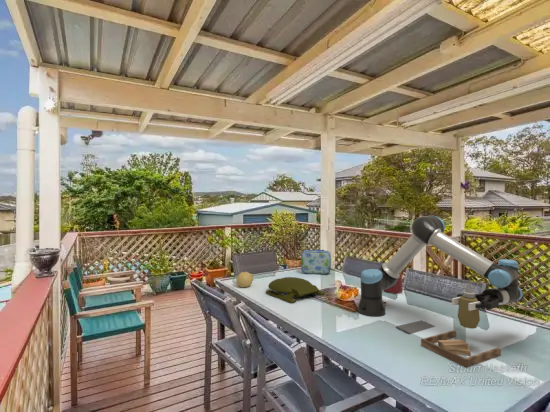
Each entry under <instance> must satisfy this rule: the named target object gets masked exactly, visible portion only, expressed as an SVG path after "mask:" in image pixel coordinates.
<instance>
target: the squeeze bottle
mask: <svg viewBox="0 0 550 412" xmlns="http://www.w3.org/2000/svg"><path fill="white" fill-rule="evenodd" d="M462 294H463V296H461V297H460V301H459V304H458V310H457V319H458V322H459V324H460V326H461V327H463V328H466V329H471V330H472V329H473V330H474V329H477V328H478V326H479V324H480V323H479V322H480V320H481V317H480V309H475V310H471V311H469V310H468V304H469V303H473V302H478V299H476V298H475V294H476V292H474V291H473V290H472V285H471V283H467V284H466V288H465V290H463V291H462Z"/></svg>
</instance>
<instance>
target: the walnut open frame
mask: <svg viewBox="0 0 550 412" xmlns="http://www.w3.org/2000/svg"><path fill="white" fill-rule="evenodd" d="M456 338H457V330H455V329H454V330H449V331H446V332H443V333H439V334H435V335H431V336H428V337H423V338H420V346H421V347H422V348H425V349H427V350H429V351H430V352H434V353H435V354H437V355H440V356H441V357H443V358H446V359H447V360H449V361H452V362H453V363H456V364H458V365H460V366H462V367H463V368H470V367H473V366H476V365H478V364H481V363H483V362H486V361H489V360H491V359H494V358H498V357H500V356H502V348H501V347H495V348H492V349H489V350H486V351H483V352H481V353H477V354H474V355H471V356H467V357H466V358H465V357H464V356H462V355H460V354H455V353H453V352H451V351H448V350H446V349H444V348H442V347H440V346H438V340H453V339H456Z"/></svg>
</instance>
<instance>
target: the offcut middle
mask: <svg viewBox="0 0 550 412" xmlns="http://www.w3.org/2000/svg"><path fill="white" fill-rule="evenodd" d="M448 351H451V352H453V353H455V354H457V355H459V356H466V357H471V356H472V354H471V349H470V347H469V346H468V349H455V350H448Z"/></svg>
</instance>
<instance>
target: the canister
mask: <svg viewBox="0 0 550 412" xmlns="http://www.w3.org/2000/svg"><path fill="white" fill-rule="evenodd" d="M399 274H400V277H399V278H398V279H397V282H396V284H395V285H394V286H393V287H391V288H388V289H385V290H383V292H385V293H389V294H402V293H403V289H404V288H403V280H404V279H403V274H402V271H401V272H400V273H399Z"/></svg>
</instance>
